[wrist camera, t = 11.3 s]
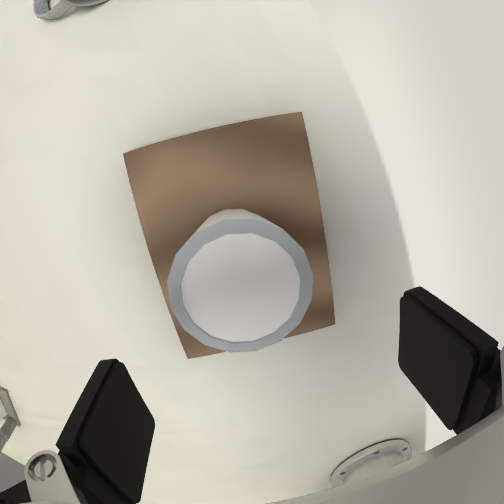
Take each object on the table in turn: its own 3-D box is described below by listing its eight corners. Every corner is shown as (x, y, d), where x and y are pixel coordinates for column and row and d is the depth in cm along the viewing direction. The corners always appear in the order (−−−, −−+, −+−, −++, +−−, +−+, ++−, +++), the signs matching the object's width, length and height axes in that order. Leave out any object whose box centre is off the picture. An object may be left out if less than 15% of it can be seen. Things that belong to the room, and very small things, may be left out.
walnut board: (329, 315, 24) (335, 324, 23) (189, 348, 24) (187, 358, 23) (296, 115, 20) (301, 111, 18) (129, 154, 19) (123, 153, 18)
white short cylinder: (274, 188, 20) (302, 202, 13) (292, 283, 22) (321, 335, 15) (171, 212, 19) (147, 239, 13) (199, 305, 21) (191, 365, 15)
